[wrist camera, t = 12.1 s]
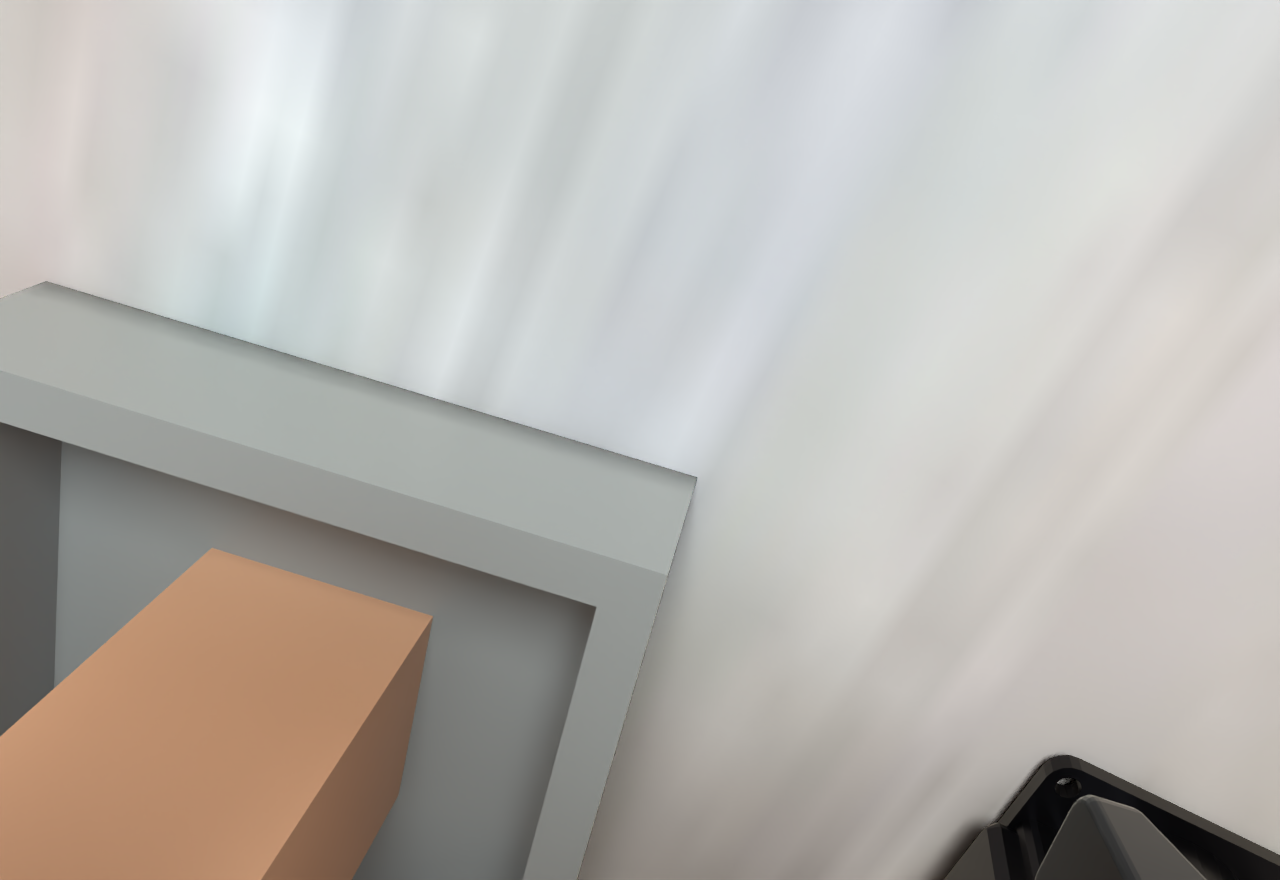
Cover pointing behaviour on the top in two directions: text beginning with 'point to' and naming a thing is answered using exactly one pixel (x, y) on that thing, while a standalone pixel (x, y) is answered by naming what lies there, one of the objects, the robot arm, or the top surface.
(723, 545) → the top surface
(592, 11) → the top surface
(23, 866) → the peach block
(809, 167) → the top surface
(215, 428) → the tray
